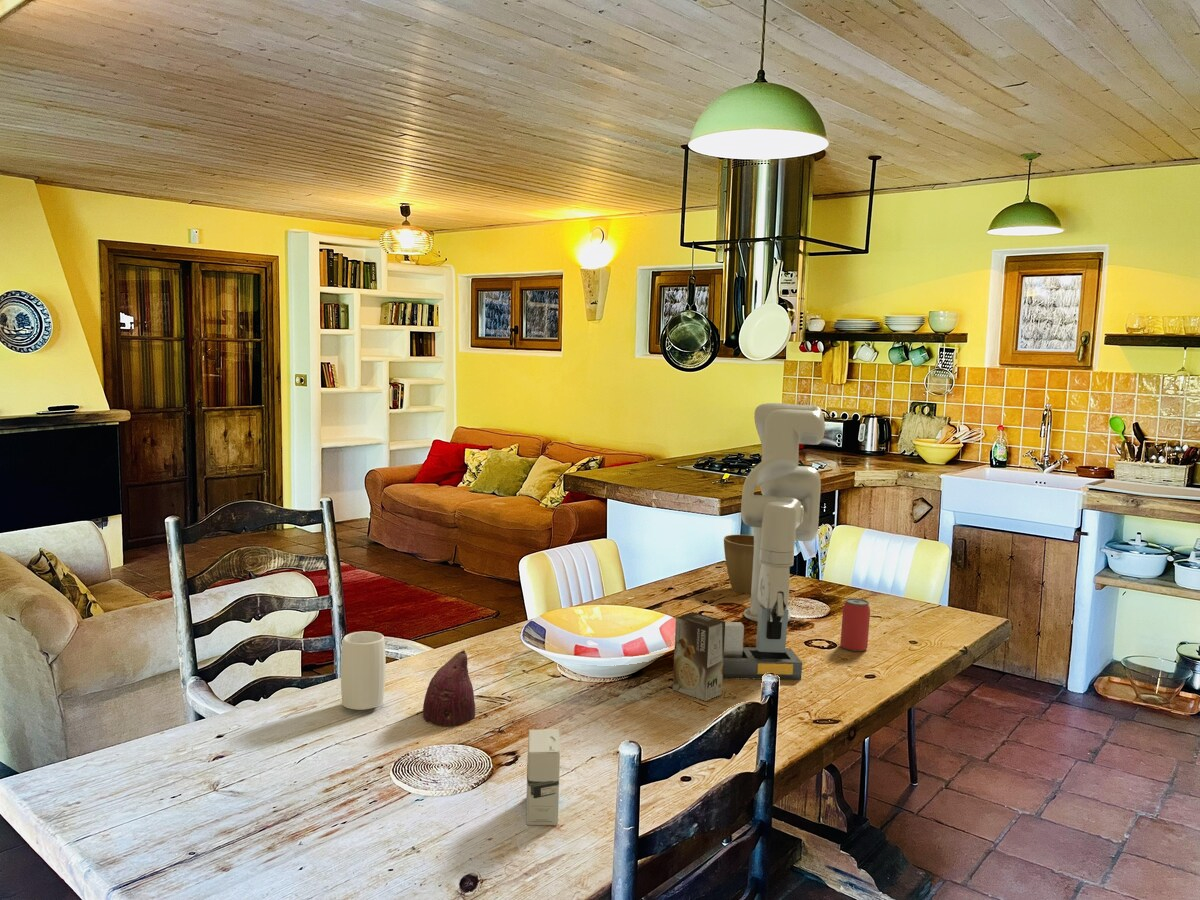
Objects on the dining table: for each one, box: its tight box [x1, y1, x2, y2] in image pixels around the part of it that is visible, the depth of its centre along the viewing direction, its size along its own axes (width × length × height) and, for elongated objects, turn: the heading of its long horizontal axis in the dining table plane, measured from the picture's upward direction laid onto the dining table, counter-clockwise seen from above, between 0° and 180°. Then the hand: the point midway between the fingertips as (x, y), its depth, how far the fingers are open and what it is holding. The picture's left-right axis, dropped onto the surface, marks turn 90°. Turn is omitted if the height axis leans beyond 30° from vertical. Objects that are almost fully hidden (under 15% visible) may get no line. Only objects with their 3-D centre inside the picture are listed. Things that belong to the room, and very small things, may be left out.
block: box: [755, 605, 789, 653], centre depth 205 cm, size 3×6×10 cm, turn 94°
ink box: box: [526, 728, 561, 826], centre depth 139 cm, size 8×5×12 cm, turn 5°
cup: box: [340, 630, 387, 711], centre depth 176 cm, size 8×8×14 cm
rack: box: [722, 621, 803, 681], centre depth 205 cm, size 10×22×11 cm, turn 94°
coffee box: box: [672, 611, 726, 702], centre depth 191 cm, size 9×6×16 cm
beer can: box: [839, 597, 871, 652], centre depth 225 cm, size 7×7×12 cm
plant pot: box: [723, 534, 754, 594], centre depth 274 cm, size 15×15×16 cm
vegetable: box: [422, 649, 476, 728], centre depth 174 cm, size 10×10×15 cm
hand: (771, 635), depth 205 cm, fingers closed on block, 3 cm apart
